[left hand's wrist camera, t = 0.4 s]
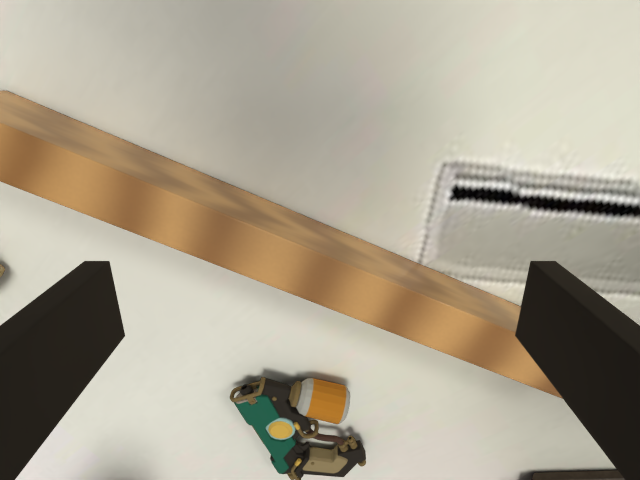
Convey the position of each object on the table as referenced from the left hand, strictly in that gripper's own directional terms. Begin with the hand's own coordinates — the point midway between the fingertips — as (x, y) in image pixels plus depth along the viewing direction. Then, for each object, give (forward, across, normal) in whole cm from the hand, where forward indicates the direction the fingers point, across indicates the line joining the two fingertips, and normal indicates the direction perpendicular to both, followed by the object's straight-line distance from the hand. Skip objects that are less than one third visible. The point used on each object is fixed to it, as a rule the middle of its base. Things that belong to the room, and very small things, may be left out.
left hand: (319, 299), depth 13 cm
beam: (+27, 0, -9) cm, 29 cm away
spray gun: (+27, -2, -33) cm, 43 cm away
